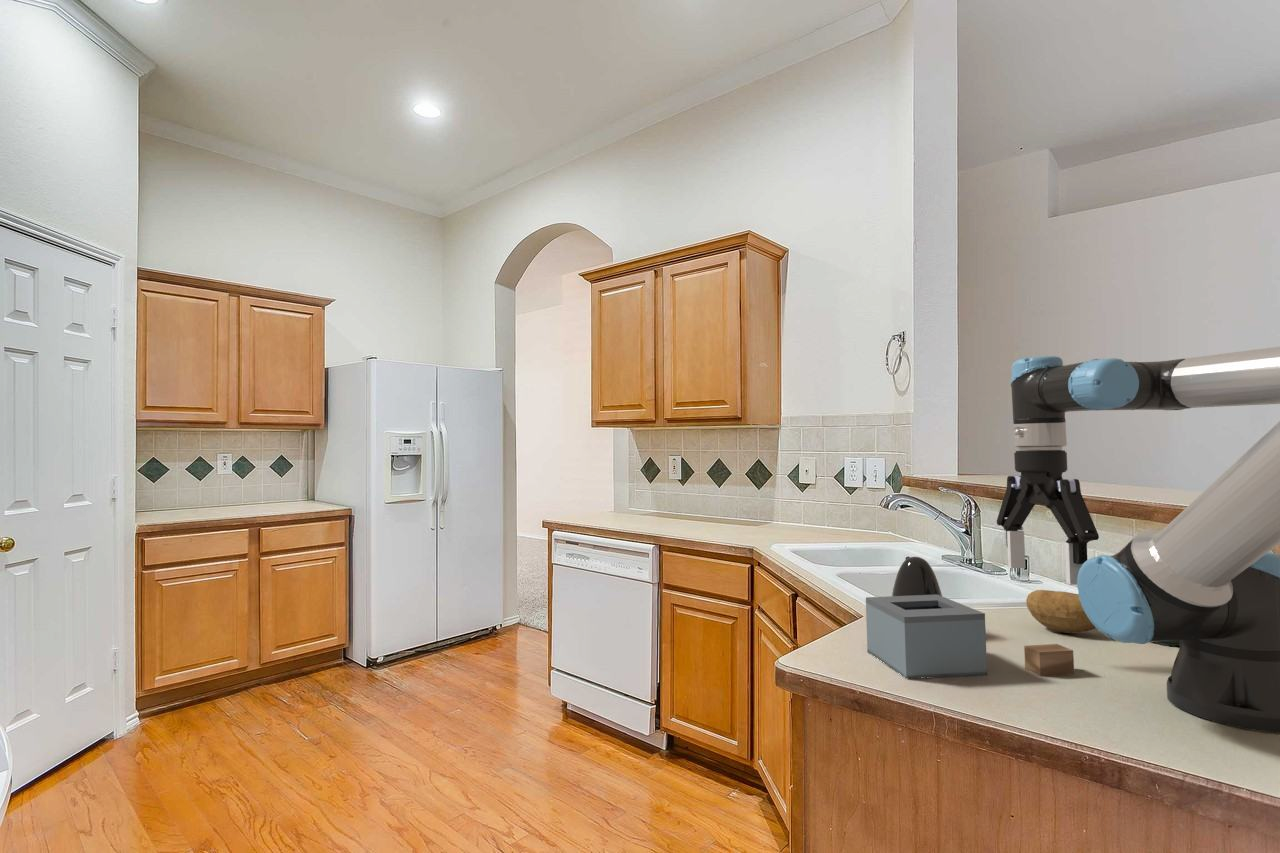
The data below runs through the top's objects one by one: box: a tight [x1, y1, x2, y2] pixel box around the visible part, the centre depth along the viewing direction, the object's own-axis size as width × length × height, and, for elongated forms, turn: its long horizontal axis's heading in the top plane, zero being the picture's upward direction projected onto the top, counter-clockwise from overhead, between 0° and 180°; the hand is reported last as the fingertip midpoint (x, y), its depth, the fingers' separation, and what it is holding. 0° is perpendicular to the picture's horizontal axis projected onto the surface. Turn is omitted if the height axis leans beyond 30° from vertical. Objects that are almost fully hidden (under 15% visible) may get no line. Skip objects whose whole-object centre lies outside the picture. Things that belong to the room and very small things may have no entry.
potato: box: [1025, 589, 1097, 634], centre depth 127 cm, size 10×14×8 cm
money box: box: [865, 594, 988, 679], centre depth 111 cm, size 14×14×10 cm
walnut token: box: [1023, 643, 1075, 677], centre depth 105 cm, size 4×6×4 cm, turn 96°
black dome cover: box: [891, 556, 943, 597], centre depth 129 cm, size 10×10×15 cm
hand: (1044, 575), depth 106 cm, fingers open, 13 cm apart
